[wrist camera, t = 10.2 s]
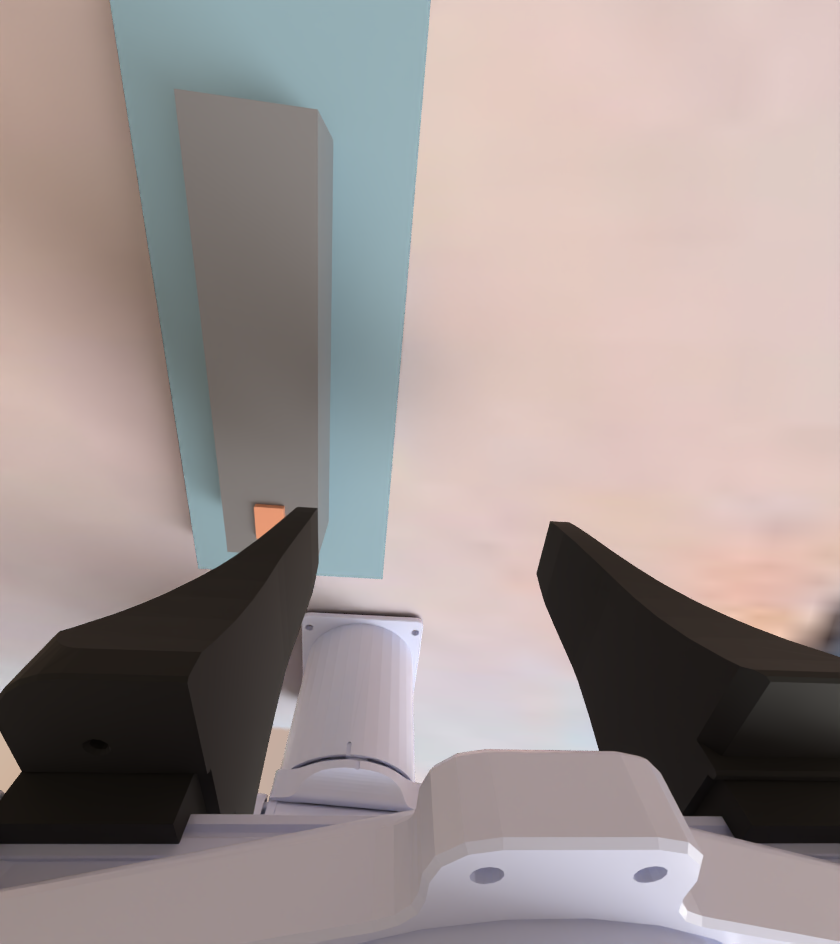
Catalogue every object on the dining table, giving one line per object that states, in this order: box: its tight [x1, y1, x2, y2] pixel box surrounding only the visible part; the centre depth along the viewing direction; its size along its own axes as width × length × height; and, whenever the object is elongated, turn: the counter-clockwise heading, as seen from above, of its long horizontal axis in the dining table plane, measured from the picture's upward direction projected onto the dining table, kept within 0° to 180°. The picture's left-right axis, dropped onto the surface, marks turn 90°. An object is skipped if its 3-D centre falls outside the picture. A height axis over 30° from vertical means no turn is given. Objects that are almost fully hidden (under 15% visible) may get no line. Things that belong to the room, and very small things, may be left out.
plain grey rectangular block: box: [174, 89, 333, 553], centre depth 17 cm, size 16×4×5 cm, turn 174°
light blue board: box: [110, 0, 431, 579], centre depth 19 cm, size 24×10×2 cm, turn 174°
